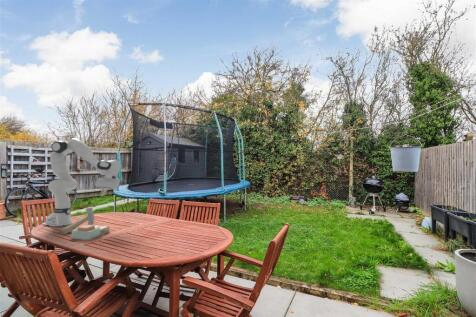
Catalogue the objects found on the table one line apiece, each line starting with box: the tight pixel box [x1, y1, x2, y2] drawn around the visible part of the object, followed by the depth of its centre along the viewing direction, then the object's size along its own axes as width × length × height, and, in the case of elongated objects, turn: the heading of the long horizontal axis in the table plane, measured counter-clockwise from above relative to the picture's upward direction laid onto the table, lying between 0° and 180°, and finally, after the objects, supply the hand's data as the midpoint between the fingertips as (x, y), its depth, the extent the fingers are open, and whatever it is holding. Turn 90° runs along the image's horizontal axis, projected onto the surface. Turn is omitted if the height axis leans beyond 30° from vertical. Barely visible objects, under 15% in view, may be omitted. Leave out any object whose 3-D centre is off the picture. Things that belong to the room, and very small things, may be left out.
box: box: [71, 228, 101, 241], centre depth 213 cm, size 14×12×6 cm
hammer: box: [61, 206, 95, 235], centre depth 234 cm, size 16×5×30 cm
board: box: [95, 225, 110, 236], centre depth 225 cm, size 14×12×4 cm
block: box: [77, 224, 96, 231], centre depth 213 cm, size 7×7×9 cm
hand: (102, 192), depth 238 cm, fingers closed
